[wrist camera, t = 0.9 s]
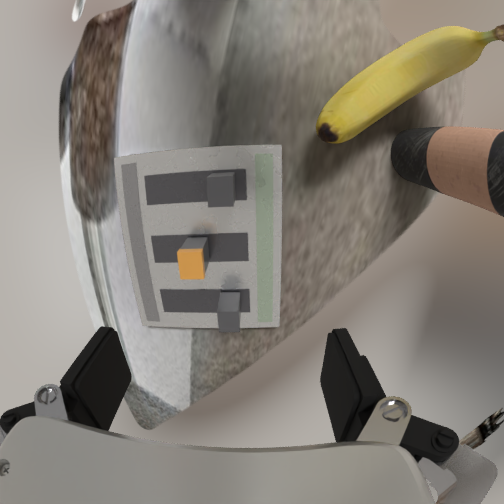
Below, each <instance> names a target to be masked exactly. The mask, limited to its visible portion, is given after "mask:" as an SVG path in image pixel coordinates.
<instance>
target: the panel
mask: <svg viewBox="0 0 504 504" xmlns="http://www.w3.org/2000/svg"><path fill="white" fill-rule="evenodd" d="M114 165H115V177H116V187H117V196H118V204H119V212H120V219H121V226H122V232H123V238H124V244H125V250H126V255H127V260H128V265H129V270H130V275H131V280H132V284H133V289H134V293H135V297H136V301H137V305H138V309H139V313H140V317H141V321H142V324H143V326H156V327H182V328H219V327H218V318H217V308H218V303H219V297H220V292H240V306H241V318H240V328H261V327H279V323H280V293H281V250H282V145H236V146H215V147H200V148H188V149H177V150H167V151H158V152H150V153H143V154H135V155H129V156H122V157H116V158H114ZM223 172H235V189H236V199H235V203H234V207H208V197H207V179H206V177H207V176H209V175H210V174H212V173H223ZM190 237H208V246H209V258H210V261H209V264H208V267H207V270H206V273H205V278H204V279H180V273H179V265H178V258H177V252H178V250H179V249H180V248H181V247H182V245H183V243H184V242H185V240H186V239H187V238H190Z"/></svg>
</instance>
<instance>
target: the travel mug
mask: <svg viewBox="0 0 504 504" xmlns="http://www.w3.org/2000/svg"><path fill="white" fill-rule="evenodd" d="M391 158H392V162H393V165H394V167H395V169H396V171H397V172H398V173H399V175H401V176H402V177H403V178H404V179H407V180H409V181H411V182H414V183H417V184H419V185H422V186H425V187H427V188H430V189H432V190H435V191H438V192H440V193H442V194H445V195H448V196H451V197H454V198H457V199H460V200H463V201H465V202H468V203H471V204H473V205H476V206H478V207H481V208H484V209H486V210H488V211H491V212H493V213H496V214H498V215H500V216H503V217H504V130H498V129H487V128H472V127H430V128H417V129H408V130H404V131H402V132H401V133H399V134H398V135H397V136H396V138H395V139H394V141H393V144H392V148H391Z"/></svg>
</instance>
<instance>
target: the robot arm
mask: <svg viewBox="0 0 504 504" xmlns="http://www.w3.org/2000/svg"><path fill="white" fill-rule="evenodd" d="M130 382H131V372H130V369H129V366H128V364H127V361H126V358H125V355H124V352H123V349H122V346H121V343H120V340H119V336H118V333H117V332H116V331H114V329H113V328H112V327H100V328H99V329H98V331H97V332H96V333H95V334H94V336H93V337H92V338H91V340H90V341H89V342H88V344H87V345H86V346H85V348H84V349H83V350H82V352H81V353H80V355H79V356H78V357H77V358H76V360H75V361H74V363H73V364H72V365H71V367H70V368H69V369H68V371H67V372H66V374H65V375H64V376H63V378H62V379H61V381H60V383H61V385H60V387H58V386H57V385H54V384H47V385H44V386H42V387H40V388H39V389H38V390H37V391H36V393H35V395H34V402H32V403H28V404H25V405H22V406H19V407H16V408H13V409H10V410H8V411H6V412H5V413H4V414H3V415H2V416H1V419H0V504H435V502H434V499H433V496H432V494H431V491H430V488H429V486H428V483H427V481H426V479H427V480H428V481H430V482H431V483H430V485H431V486H432V487H434V488H435V489H436V491H437V493H438V500H437V502H436V504H480V503H481V502H482V500H483V499H484V497H485V495H486V494H487V493H488V491H489V490H490V488H491V486H492V485H493V483H494V481H495V479H496V477H497V467H496V465H495V464H494V463H493V462H491V461H490V460H488V459H487V458H485V457H483V456H482V455H481V454H479V453H477V452H476V451H474V450H473V449H471V448H470V447H468V446H467V445H465V444H464V446H461V445H460V444H459V438H458V436H457V434H456V433H455V432H454V431H453V430H451V429H449V428H447V427H443V426H441V425H438V424H435V423H432V422H429V421H426V420H424V419H421V418H418V417H416V416H413V415H411V413H412V410H411V406H410V405H409V403H408V402H407V401H405V400H404V399H402V398H400V397H395V396H393V397H392V396H391V397H386V395H385V393H384V391H383V389H382V387H381V385H380V383H379V381H378V379H377V377H376V375H375V373H374V371H373V369H372V367H371V365H370V363H369V361H368V359H367V358H366V356H364V355H363V356H360V354H359V352H358V350H357V348H356V347H355V344H354V343H353V340H352V339H351V336H350V334H349V333H348V331H347V329H346V328H342V329H333V331H332V333H328V337H327V343H326V349H325V355H324V362H323V367H322V372H321V378H320V382H321V387H322V390H323V394H324V398H325V402H326V405H327V409H328V413H329V417H330V420H331V424H332V428H333V432H334V436H335V440H336V442H337V443H327V444H317V445H307V446H294V447H276V448H221V447H204V446H203V447H202V446H192V445H182V444H174V443H167V442H159V441H154V440H147V439H141V438H137V437H132V436H127V435H122V434H118V433H114V432H109V431H108V430H109V428H110V426H111V424H112V421H113V419H114V417H115V414H116V412H117V410H118V408H119V406H120V403H121V401H122V399H123V397H124V395H125V392H126V390H127V388H128V386H129V384H130Z"/></svg>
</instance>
